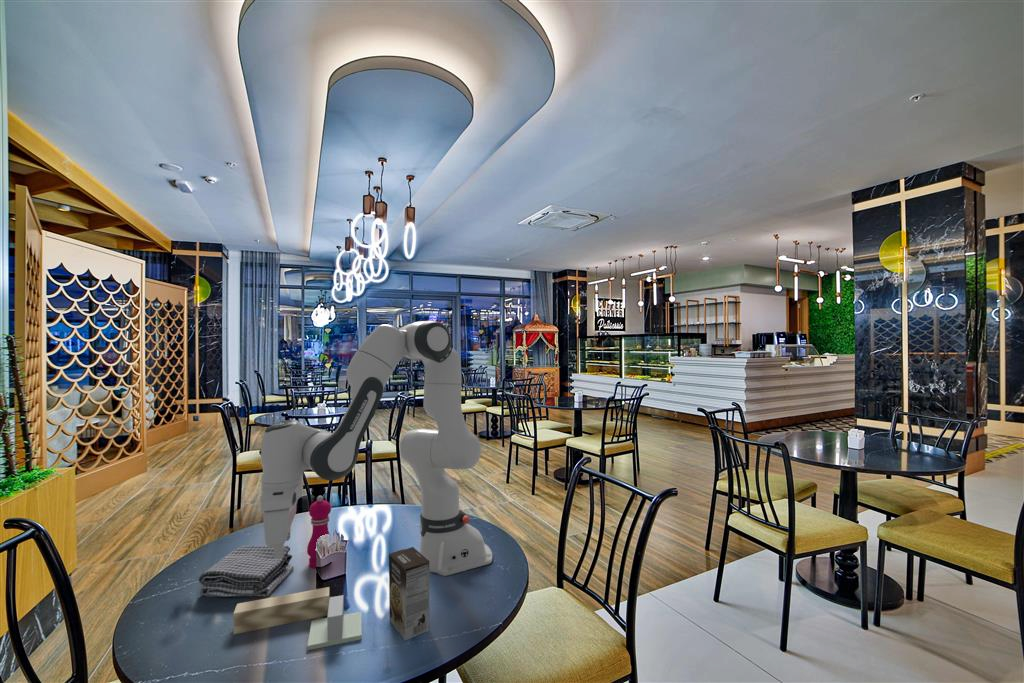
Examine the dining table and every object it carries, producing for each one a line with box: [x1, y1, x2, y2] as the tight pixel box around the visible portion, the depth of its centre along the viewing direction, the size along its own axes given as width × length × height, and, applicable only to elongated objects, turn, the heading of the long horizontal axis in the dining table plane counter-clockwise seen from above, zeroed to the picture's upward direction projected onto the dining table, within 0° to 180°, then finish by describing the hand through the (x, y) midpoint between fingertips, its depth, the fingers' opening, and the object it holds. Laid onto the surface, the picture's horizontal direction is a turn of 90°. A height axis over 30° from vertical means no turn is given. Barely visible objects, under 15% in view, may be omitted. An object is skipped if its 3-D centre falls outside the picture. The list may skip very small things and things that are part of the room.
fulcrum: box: [306, 594, 363, 651], centre depth 103 cm, size 11×9×6 cm
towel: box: [197, 545, 295, 598], centre depth 124 cm, size 15×18×8 cm
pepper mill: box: [306, 495, 332, 569], centre depth 134 cm, size 7×7×20 cm
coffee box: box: [388, 546, 431, 641], centre depth 105 cm, size 9×6×16 cm
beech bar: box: [232, 586, 330, 635], centre depth 108 cm, size 20×4×5 cm, turn 111°
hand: (282, 548), depth 107 cm, fingers open, 8 cm apart
